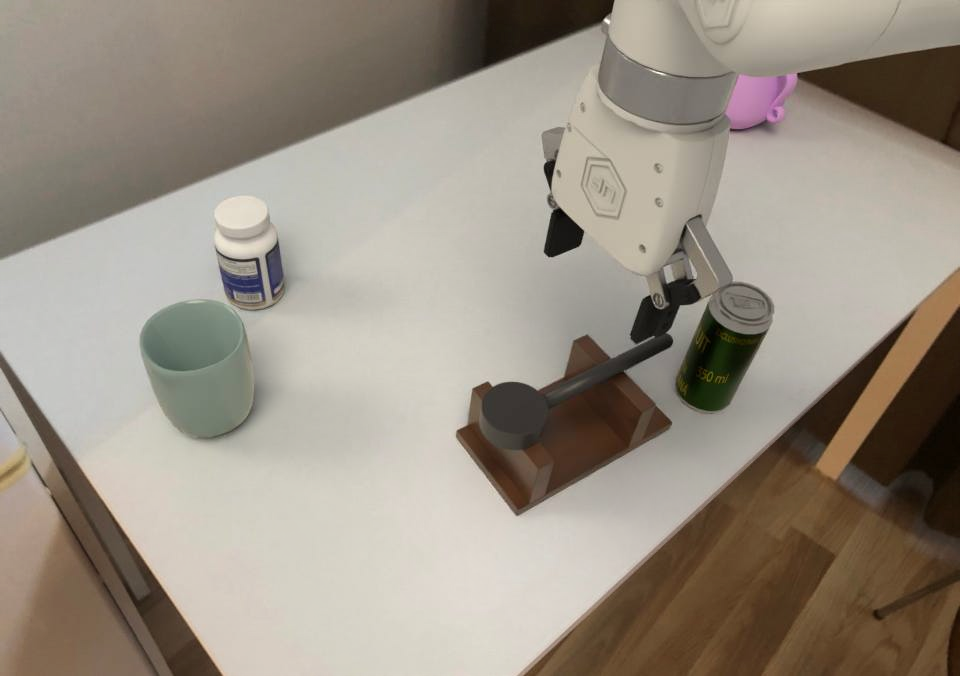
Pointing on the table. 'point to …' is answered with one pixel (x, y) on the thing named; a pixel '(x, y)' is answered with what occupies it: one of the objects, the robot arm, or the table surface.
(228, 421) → the cup
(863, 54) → the robot arm
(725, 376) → the beer can
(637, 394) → the rack
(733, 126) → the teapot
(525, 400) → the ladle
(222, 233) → the pill bottle
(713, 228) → the table surface
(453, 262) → the table surface
